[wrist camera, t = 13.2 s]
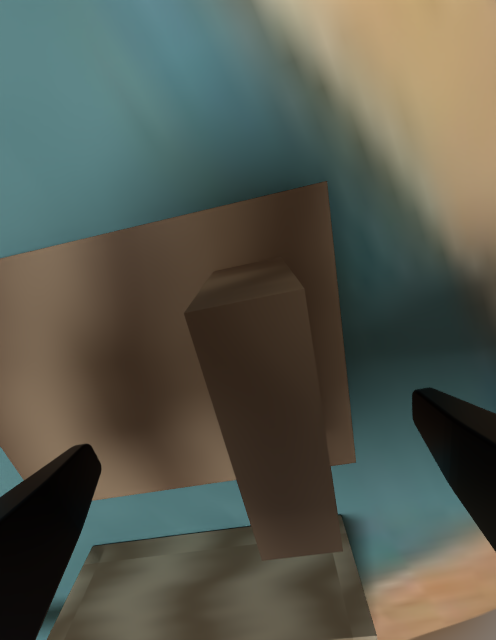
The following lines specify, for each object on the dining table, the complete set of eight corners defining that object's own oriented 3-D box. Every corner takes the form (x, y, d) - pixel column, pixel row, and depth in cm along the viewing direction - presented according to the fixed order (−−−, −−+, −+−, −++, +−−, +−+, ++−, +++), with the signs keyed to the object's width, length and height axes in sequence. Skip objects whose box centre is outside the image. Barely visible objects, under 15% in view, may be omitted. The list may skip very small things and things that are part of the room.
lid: (313, 187, 10) (399, 145, 4) (342, 430, 14) (407, 585, 8) (-54, 274, 12) (-378, 334, 6) (67, 473, 16) (-47, 631, 10)
